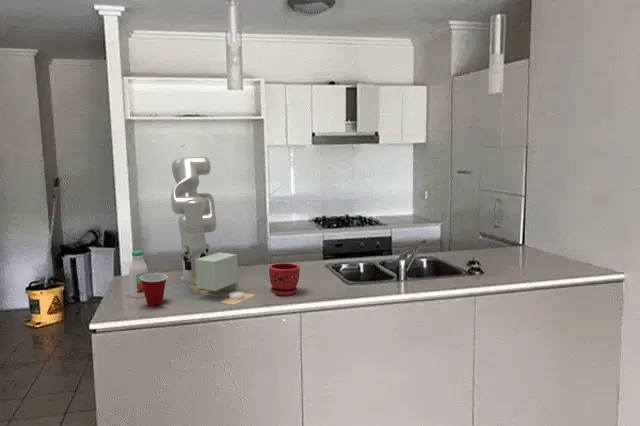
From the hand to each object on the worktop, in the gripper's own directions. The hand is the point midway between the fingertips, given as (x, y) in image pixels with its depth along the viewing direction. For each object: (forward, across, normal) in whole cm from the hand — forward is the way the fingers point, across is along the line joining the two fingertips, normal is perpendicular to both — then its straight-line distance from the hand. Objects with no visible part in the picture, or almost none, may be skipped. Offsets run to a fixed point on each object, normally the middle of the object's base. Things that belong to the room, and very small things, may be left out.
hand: (196, 267), depth 233 cm
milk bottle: (+12, +16, -18) cm, 27 cm away
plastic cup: (+11, +21, -4) cm, 24 cm away
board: (+12, +1, +2) cm, 12 cm away
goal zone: (+11, +1, +23) cm, 26 cm away
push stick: (+10, +1, +9) cm, 14 cm away
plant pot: (+11, -17, +34) cm, 40 cm away
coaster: (+10, +1, +22) cm, 24 cm away
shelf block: (+11, +1, +13) cm, 17 cm away
